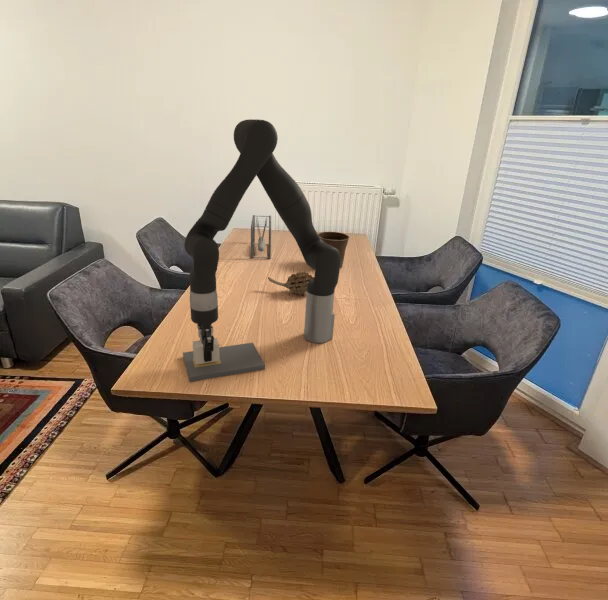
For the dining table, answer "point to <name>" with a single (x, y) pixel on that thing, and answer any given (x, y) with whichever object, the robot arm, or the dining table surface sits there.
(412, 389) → the dining table surface
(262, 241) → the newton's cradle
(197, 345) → the block
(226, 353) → the board
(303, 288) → the pine cone
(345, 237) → the plant pot
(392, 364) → the dining table surface
